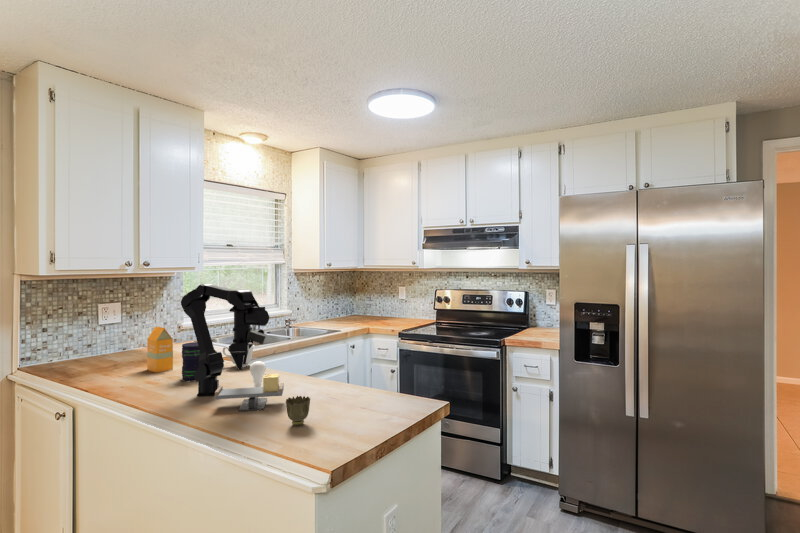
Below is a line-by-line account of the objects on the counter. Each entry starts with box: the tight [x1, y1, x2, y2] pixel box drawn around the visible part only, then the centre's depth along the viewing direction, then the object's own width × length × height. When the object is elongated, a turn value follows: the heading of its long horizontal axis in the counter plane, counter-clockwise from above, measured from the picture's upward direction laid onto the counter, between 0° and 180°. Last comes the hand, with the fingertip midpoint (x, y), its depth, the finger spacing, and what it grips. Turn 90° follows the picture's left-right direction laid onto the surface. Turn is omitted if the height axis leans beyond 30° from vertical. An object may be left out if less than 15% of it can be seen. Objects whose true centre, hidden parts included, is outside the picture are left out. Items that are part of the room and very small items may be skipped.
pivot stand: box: [238, 397, 268, 413], centre depth 155 cm, size 8×12×4 cm, turn 11°
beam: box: [214, 382, 285, 400], centre depth 155 cm, size 22×8×2 cm, turn 101°
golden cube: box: [262, 373, 280, 392], centre depth 156 cm, size 5×5×5 cm
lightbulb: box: [249, 360, 267, 388], centre depth 176 cm, size 6×6×11 cm
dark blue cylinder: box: [181, 341, 200, 382], centre depth 192 cm, size 10×10×15 cm
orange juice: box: [146, 326, 174, 373], centre depth 207 cm, size 8×9×20 cm
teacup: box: [222, 344, 255, 368], centre depth 214 cm, size 12×15×10 cm
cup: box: [285, 395, 311, 427], centre depth 137 cm, size 8×7×8 cm
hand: (242, 366), depth 162 cm, fingers open, 9 cm apart
